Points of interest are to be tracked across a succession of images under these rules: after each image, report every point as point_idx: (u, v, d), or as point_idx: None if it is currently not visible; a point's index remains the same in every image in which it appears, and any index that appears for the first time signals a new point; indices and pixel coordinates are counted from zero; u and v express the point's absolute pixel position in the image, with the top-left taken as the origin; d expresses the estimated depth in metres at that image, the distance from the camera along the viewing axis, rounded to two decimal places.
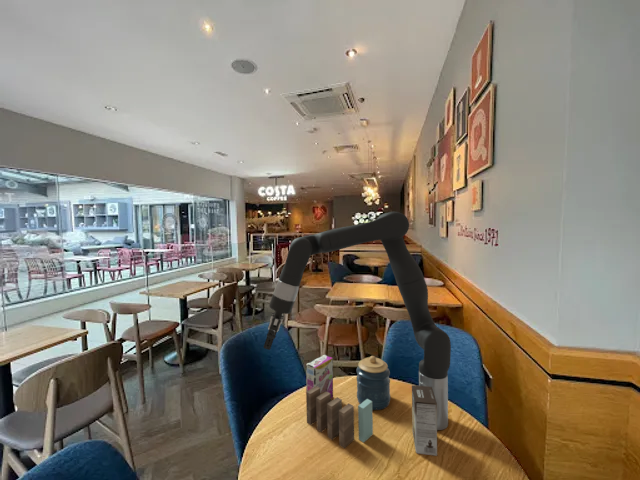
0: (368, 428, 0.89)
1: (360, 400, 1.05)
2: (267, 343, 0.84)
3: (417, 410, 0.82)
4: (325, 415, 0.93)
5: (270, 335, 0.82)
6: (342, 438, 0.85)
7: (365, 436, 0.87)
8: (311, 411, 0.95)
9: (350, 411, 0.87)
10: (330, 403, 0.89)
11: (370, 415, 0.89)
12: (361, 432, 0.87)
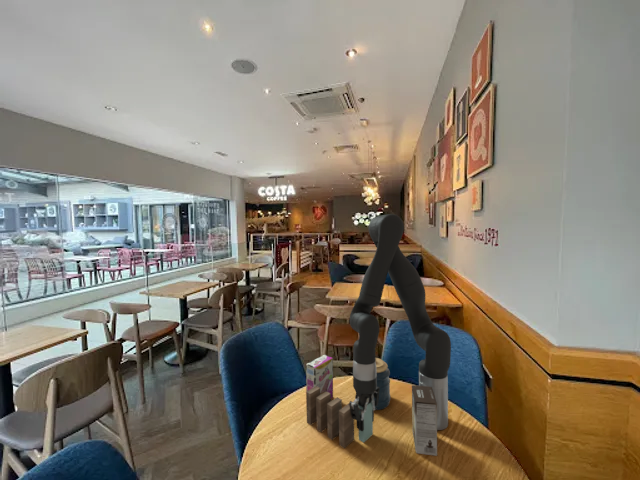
0: (368, 428, 0.89)
1: None
2: (357, 424, 0.87)
3: (417, 410, 0.82)
4: (325, 415, 0.93)
5: (354, 417, 0.85)
6: (342, 438, 0.85)
7: (365, 436, 0.87)
8: (311, 411, 0.95)
9: (350, 411, 0.87)
10: (330, 403, 0.89)
11: (370, 415, 0.89)
12: (361, 432, 0.87)
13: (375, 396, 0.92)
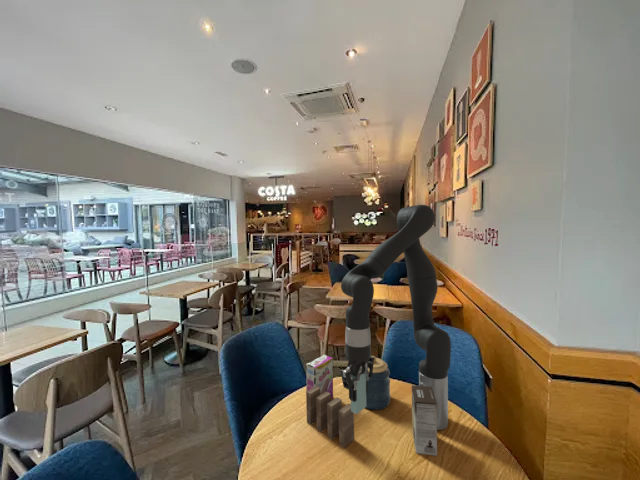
0: (362, 399, 0.83)
1: None
2: (350, 395, 0.81)
3: (417, 410, 0.82)
4: (325, 415, 0.93)
5: (346, 386, 0.79)
6: (342, 438, 0.85)
7: (358, 408, 0.81)
8: (311, 411, 0.95)
9: (350, 411, 0.87)
10: (330, 403, 0.89)
11: (363, 386, 0.83)
12: (354, 403, 0.81)
13: (369, 366, 0.86)
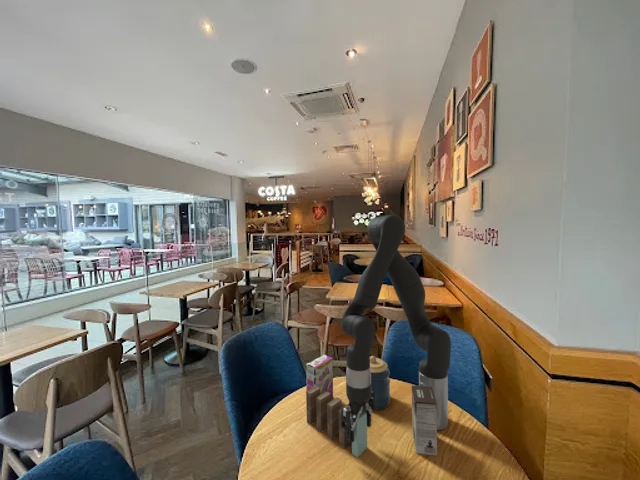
0: (363, 441, 0.83)
1: None
2: (347, 435, 0.80)
3: (417, 410, 0.82)
4: (325, 415, 0.93)
5: (343, 427, 0.78)
6: (342, 438, 0.85)
7: (359, 450, 0.82)
8: (311, 411, 0.95)
9: None
10: (330, 403, 0.89)
11: (364, 428, 0.84)
12: (355, 446, 0.82)
13: (371, 401, 0.87)
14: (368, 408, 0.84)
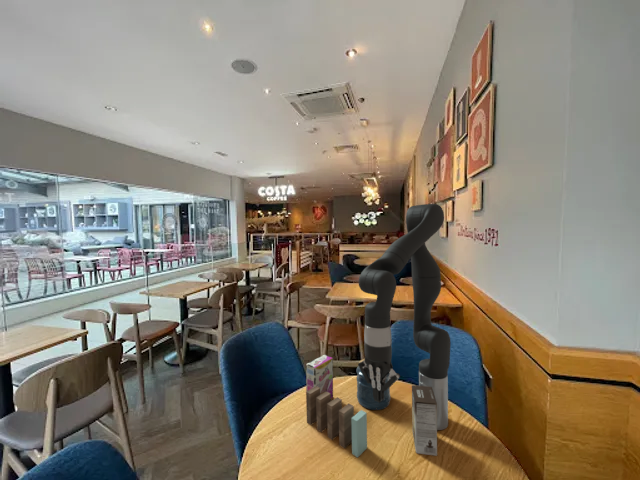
0: (363, 441, 0.83)
1: (360, 400, 1.05)
2: None
3: (417, 410, 0.82)
4: (325, 415, 0.93)
5: None
6: (342, 438, 0.85)
7: (359, 450, 0.82)
8: (311, 411, 0.95)
9: (350, 411, 0.87)
10: (330, 403, 0.89)
11: (364, 428, 0.84)
12: (355, 446, 0.82)
13: None
14: (377, 376, 0.76)
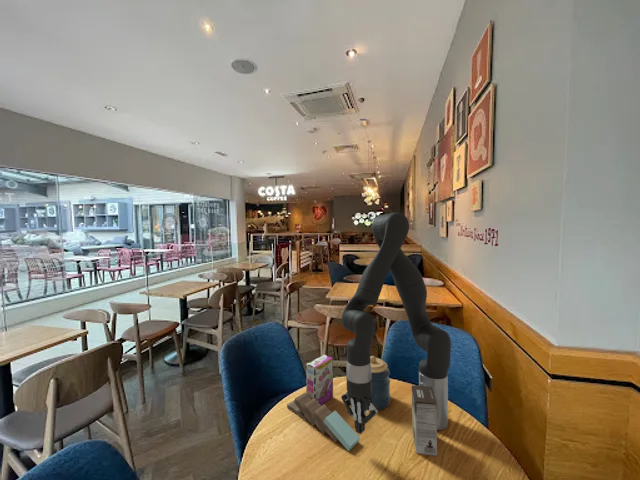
0: (348, 433, 0.87)
1: None
2: None
3: (417, 410, 0.82)
4: None
5: None
6: (330, 432, 0.88)
7: (348, 440, 0.84)
8: (299, 411, 1.01)
9: (323, 408, 0.95)
10: None
11: (342, 422, 0.90)
12: (342, 440, 0.85)
13: (368, 414, 0.80)
14: (358, 410, 0.81)
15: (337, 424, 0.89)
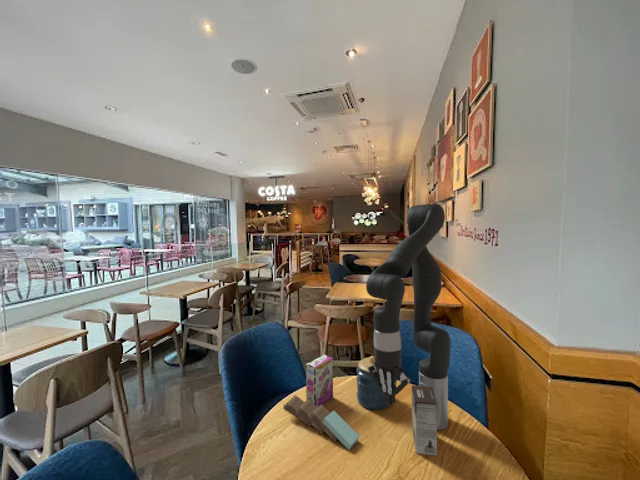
0: (348, 432, 0.87)
1: (360, 400, 1.05)
2: None
3: (417, 410, 0.82)
4: None
5: None
6: (329, 432, 0.89)
7: (348, 439, 0.85)
8: None
9: (320, 408, 0.95)
10: None
11: (341, 421, 0.90)
12: (342, 439, 0.85)
13: None
14: (388, 380, 0.76)
15: (336, 424, 0.89)
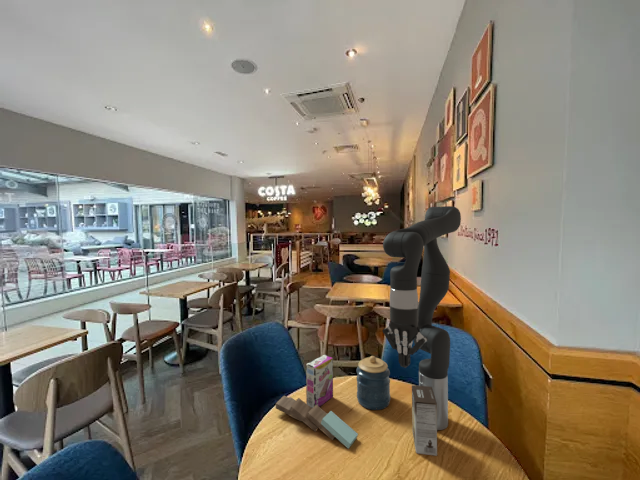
0: (346, 431, 0.88)
1: (360, 400, 1.05)
2: None
3: (417, 410, 0.82)
4: None
5: None
6: (326, 431, 0.89)
7: (347, 438, 0.86)
8: None
9: (315, 408, 0.96)
10: (291, 407, 0.97)
11: (339, 421, 0.91)
12: (341, 439, 0.86)
13: None
14: (404, 340, 0.74)
15: (334, 423, 0.89)
